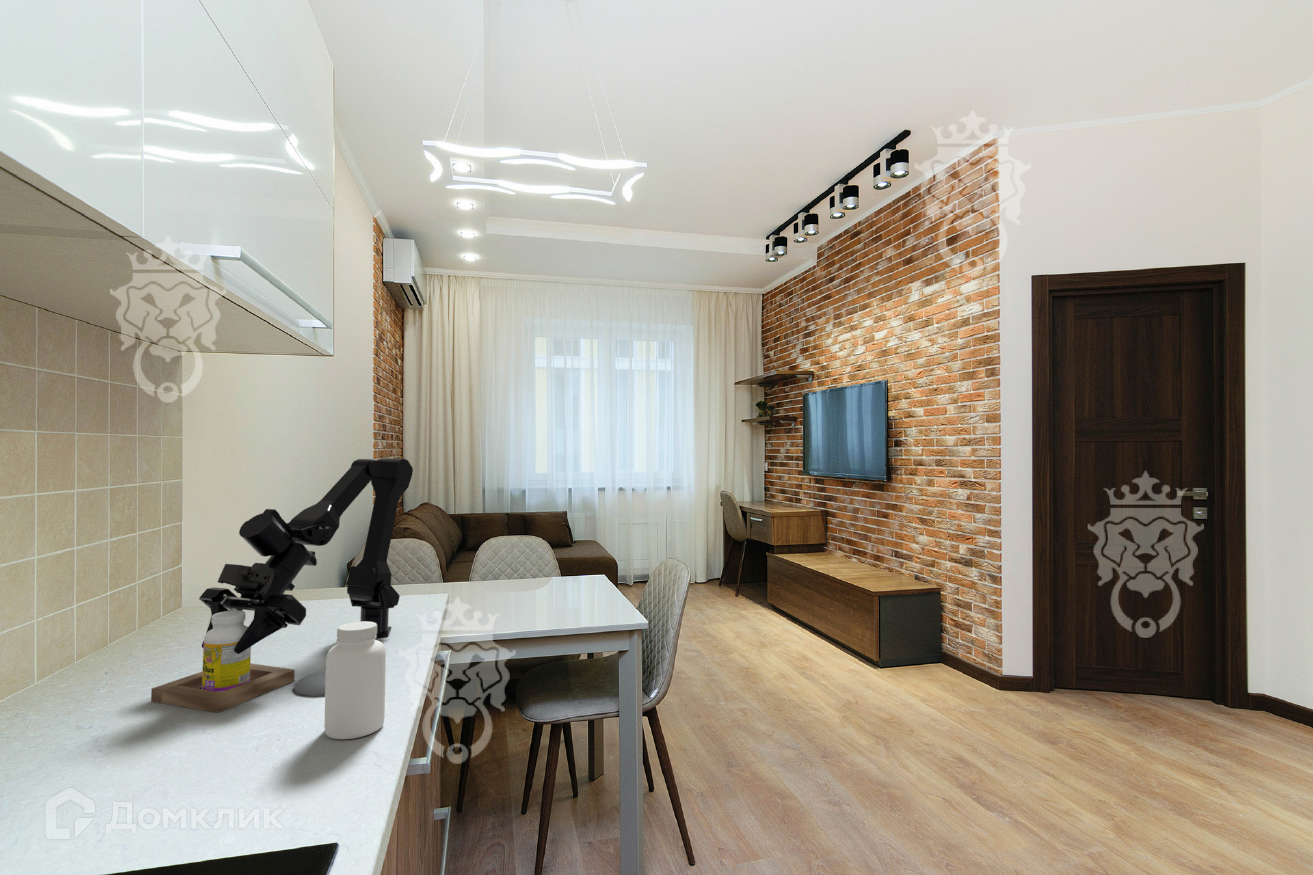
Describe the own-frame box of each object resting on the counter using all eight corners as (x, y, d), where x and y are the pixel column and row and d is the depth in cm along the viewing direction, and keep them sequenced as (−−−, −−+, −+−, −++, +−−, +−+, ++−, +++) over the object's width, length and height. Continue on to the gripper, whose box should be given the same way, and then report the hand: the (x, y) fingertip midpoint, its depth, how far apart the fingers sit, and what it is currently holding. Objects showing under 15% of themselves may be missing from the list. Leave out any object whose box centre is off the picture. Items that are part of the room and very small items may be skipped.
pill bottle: (354, 713, 95) (357, 616, 96) (396, 722, 92) (399, 621, 93) (310, 735, 88) (313, 629, 88) (354, 745, 85) (357, 635, 85)
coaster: (302, 675, 111) (303, 672, 111) (369, 670, 114) (369, 667, 114) (285, 699, 100) (285, 695, 100) (359, 692, 103) (359, 688, 103)
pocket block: (232, 671, 112) (233, 660, 112) (294, 680, 108) (294, 669, 108) (150, 701, 98) (151, 688, 99) (217, 712, 95) (218, 699, 95)
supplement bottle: (198, 689, 103) (201, 612, 104) (244, 680, 108) (247, 606, 108) (205, 701, 99) (208, 621, 99) (253, 691, 103) (256, 614, 104)
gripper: (211, 542, 110) (143, 619, 99) (295, 548, 105) (232, 630, 94) (249, 577, 118) (190, 653, 107) (329, 585, 113) (275, 665, 102)
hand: (219, 650), depth 102 cm, fingers closed on supplement bottle, 7 cm apart
